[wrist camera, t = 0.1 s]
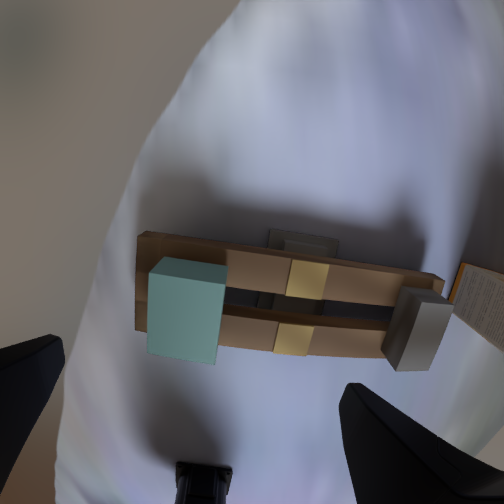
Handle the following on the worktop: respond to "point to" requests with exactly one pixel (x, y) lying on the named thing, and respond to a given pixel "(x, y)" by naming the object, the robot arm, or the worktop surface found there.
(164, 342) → the block
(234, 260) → the brown long slotted block
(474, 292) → the supplement box
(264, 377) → the worktop surface
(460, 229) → the worktop surface
